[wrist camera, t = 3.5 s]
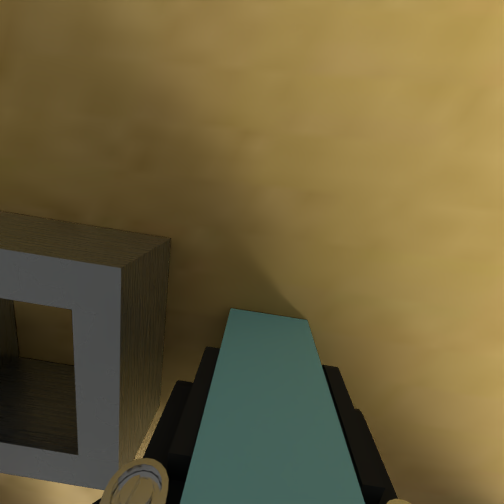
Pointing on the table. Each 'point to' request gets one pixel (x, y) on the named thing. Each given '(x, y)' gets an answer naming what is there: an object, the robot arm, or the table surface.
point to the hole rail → (81, 348)
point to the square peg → (270, 422)
